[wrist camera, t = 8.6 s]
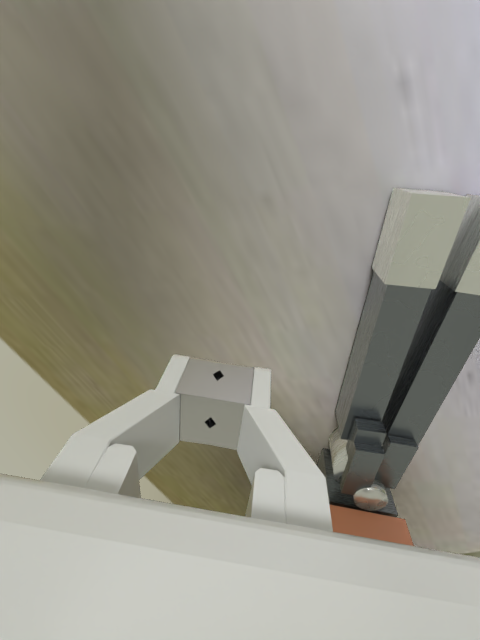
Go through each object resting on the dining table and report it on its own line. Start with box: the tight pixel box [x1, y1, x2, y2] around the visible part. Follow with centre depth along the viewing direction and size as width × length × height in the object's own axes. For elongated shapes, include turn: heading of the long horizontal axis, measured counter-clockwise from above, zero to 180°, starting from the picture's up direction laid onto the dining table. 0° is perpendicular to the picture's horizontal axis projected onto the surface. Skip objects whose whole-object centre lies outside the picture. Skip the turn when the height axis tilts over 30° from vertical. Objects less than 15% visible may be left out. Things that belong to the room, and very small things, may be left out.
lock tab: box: [329, 504, 414, 546], centre depth 20 cm, size 5×5×2 cm
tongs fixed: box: [317, 194, 480, 517], centre depth 19 cm, size 25×4×4 cm, turn 173°
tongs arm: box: [335, 188, 471, 511], centre depth 17 cm, size 18×3×4 cm, turn 177°
